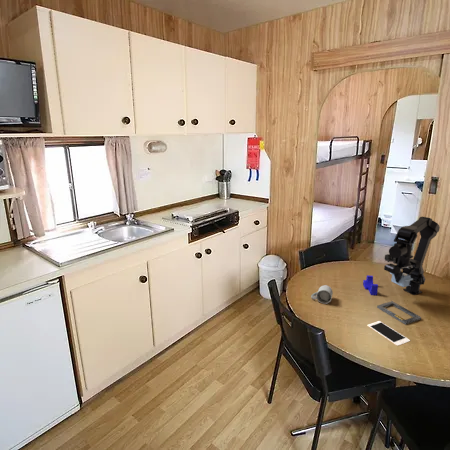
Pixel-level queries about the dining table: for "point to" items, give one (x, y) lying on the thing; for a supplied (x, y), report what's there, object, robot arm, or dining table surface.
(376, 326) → the cell phone
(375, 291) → the cable clip
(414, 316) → the plate
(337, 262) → the dining table surface
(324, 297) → the ceramic mug
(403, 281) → the servo block
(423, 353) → the dining table surface
